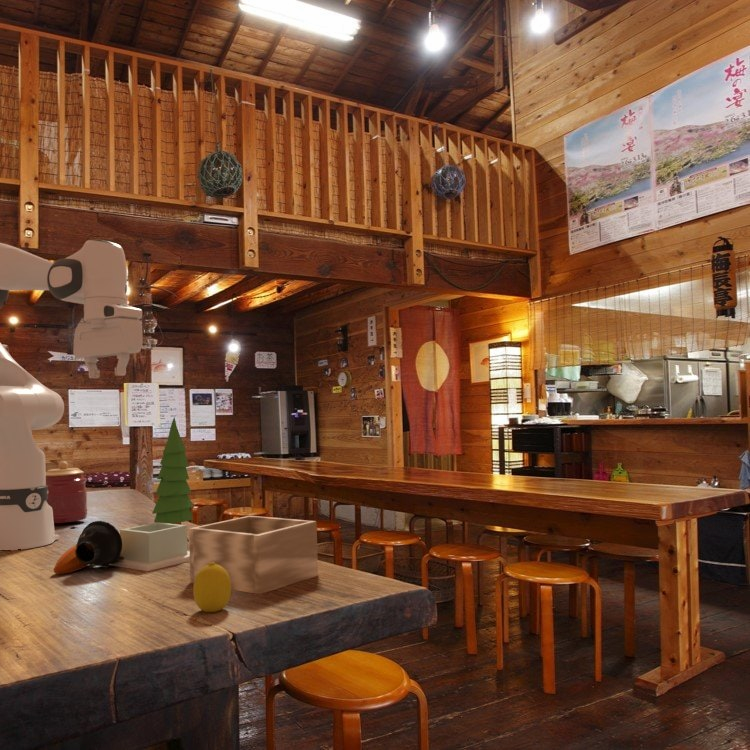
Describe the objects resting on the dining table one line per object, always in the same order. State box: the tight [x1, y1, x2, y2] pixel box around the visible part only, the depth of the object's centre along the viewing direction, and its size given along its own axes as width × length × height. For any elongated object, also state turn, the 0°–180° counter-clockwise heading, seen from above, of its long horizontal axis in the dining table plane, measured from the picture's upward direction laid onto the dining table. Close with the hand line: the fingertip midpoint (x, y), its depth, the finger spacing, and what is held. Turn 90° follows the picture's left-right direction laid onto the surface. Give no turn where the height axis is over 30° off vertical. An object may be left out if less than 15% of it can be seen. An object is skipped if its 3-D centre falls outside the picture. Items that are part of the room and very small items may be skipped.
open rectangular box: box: [108, 522, 190, 572], centre depth 139 cm, size 14×14×7 cm
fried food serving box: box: [188, 515, 319, 595], centre depth 120 cm, size 17×15×10 cm
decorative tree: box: [151, 416, 195, 542], centre depth 161 cm, size 10×9×30 cm
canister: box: [46, 460, 88, 524], centre depth 201 cm, size 13×13×18 cm
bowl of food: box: [75, 520, 124, 568], centre depth 134 cm, size 9×11×18 cm
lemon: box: [192, 562, 232, 613], centre depth 100 cm, size 6×6×8 cm
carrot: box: [53, 543, 93, 575], centre depth 134 cm, size 5×5×15 cm
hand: (107, 376), depth 145 cm, fingers open, 8 cm apart
